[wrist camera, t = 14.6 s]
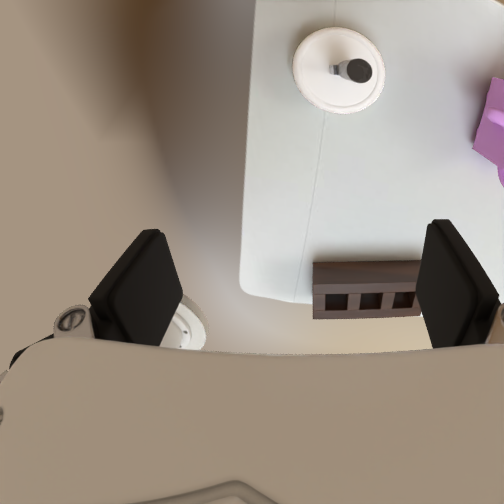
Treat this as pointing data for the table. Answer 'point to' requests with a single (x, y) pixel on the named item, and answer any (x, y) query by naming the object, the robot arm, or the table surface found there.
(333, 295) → the utensil block
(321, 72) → the white round stack
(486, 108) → the teapot
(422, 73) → the table surface
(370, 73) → the grey handled tool
